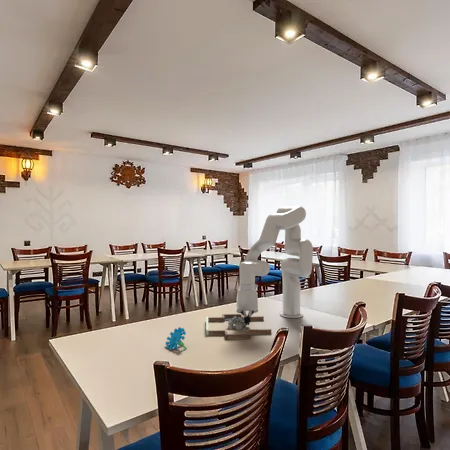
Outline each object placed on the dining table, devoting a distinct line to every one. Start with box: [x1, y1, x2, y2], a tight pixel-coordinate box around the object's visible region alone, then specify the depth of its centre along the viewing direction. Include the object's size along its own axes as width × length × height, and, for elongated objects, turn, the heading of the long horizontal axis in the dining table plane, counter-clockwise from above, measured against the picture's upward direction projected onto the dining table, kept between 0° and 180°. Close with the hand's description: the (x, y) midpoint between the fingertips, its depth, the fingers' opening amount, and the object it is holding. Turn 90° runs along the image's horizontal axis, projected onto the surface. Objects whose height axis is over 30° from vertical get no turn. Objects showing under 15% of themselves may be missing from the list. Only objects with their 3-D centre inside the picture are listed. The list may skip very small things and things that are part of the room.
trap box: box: [207, 313, 272, 340], centre depth 165 cm, size 33×29×2 cm
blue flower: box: [165, 326, 188, 351], centre depth 140 cm, size 11×6×10 cm
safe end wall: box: [205, 316, 209, 337], centre depth 165 cm, size 22×1×2 cm, turn 3°
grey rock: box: [226, 316, 247, 330], centre depth 167 cm, size 11×8×4 cm
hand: (247, 324), depth 166 cm, fingers closed
